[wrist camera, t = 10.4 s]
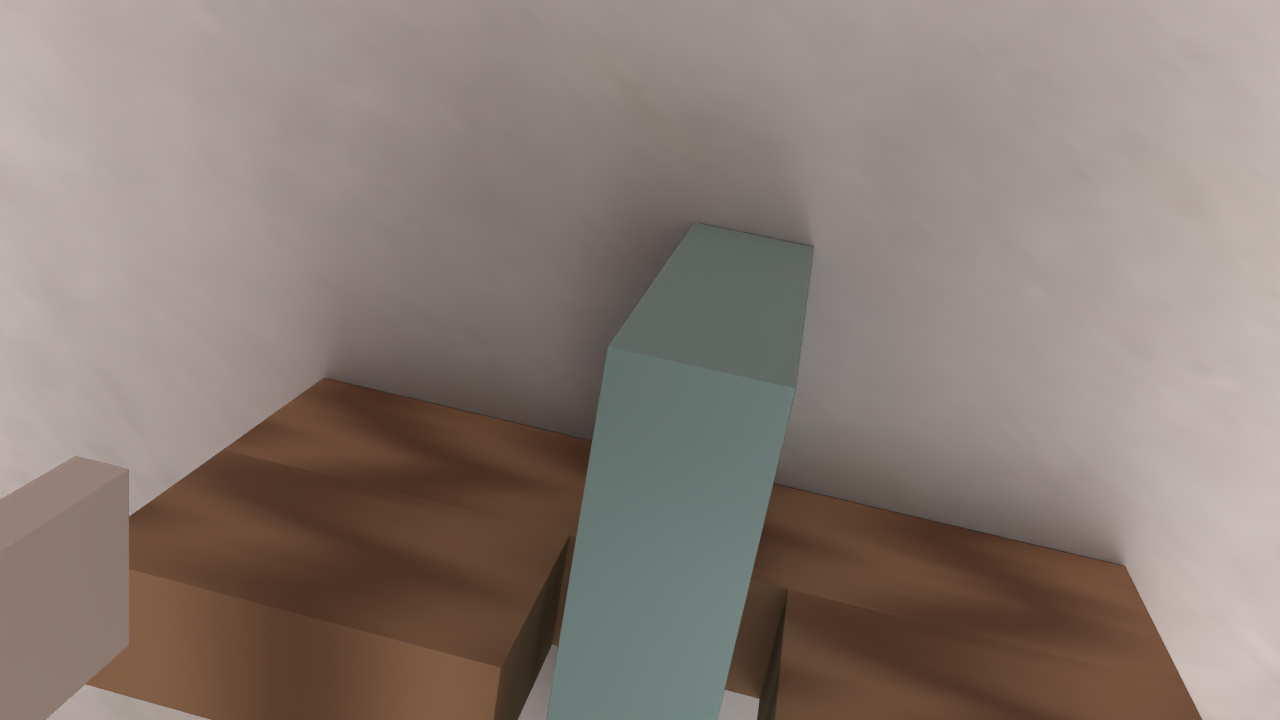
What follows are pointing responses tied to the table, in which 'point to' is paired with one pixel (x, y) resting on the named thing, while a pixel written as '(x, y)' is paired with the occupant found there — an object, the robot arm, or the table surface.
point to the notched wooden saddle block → (539, 577)
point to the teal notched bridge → (681, 479)
